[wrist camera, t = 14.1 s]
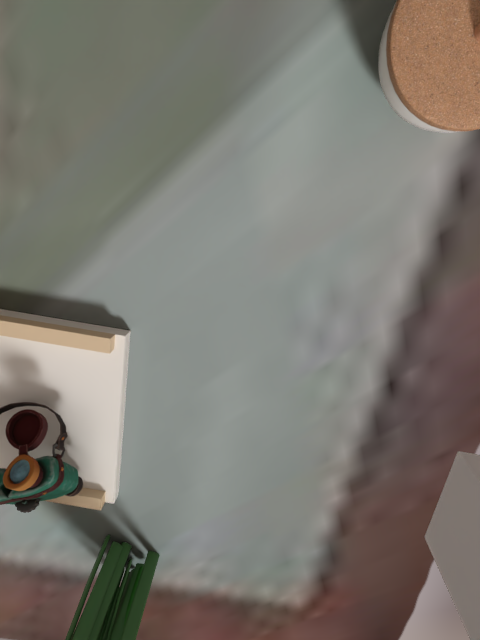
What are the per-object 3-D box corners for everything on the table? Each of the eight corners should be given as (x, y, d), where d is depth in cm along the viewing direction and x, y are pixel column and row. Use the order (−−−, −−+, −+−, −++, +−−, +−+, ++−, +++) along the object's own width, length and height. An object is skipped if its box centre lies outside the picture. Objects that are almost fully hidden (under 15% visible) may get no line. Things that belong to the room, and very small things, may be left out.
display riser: (-70, 297, 41) (-93, 305, 38) (130, 330, 41) (121, 340, 38) (-55, 464, 47) (-73, 480, 45) (118, 493, 47) (109, 512, 44)
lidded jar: (500, -39, 30) (599, -132, 21) (510, 119, 33) (599, 96, 24) (351, 10, 31) (384, -58, 22) (374, 157, 34) (411, 148, 26)
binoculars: (19, 426, 47) (10, 522, 43) (-47, 399, 38) (-68, 518, 33) (95, 411, 47) (95, 506, 43) (48, 381, 38) (40, 497, 33)
